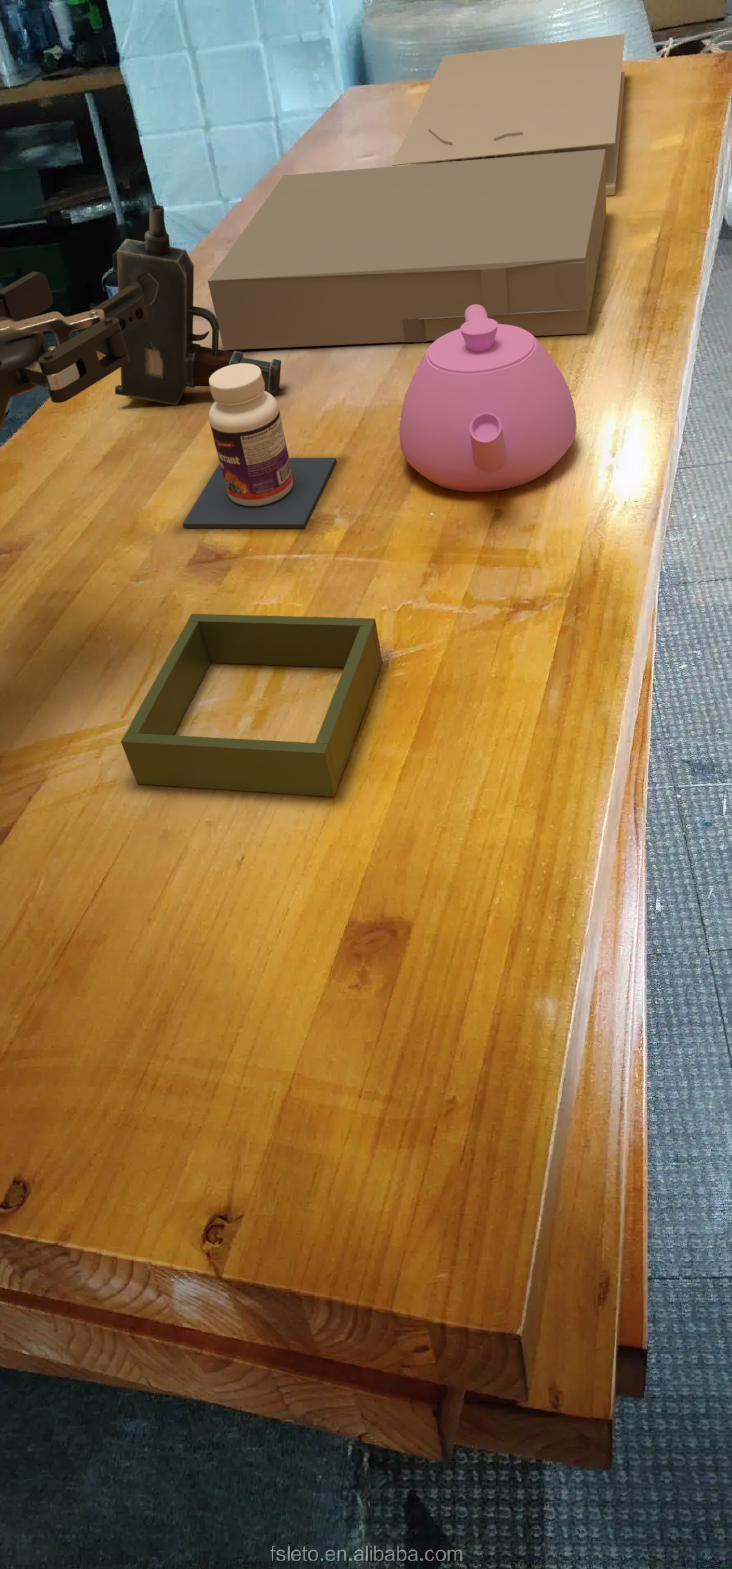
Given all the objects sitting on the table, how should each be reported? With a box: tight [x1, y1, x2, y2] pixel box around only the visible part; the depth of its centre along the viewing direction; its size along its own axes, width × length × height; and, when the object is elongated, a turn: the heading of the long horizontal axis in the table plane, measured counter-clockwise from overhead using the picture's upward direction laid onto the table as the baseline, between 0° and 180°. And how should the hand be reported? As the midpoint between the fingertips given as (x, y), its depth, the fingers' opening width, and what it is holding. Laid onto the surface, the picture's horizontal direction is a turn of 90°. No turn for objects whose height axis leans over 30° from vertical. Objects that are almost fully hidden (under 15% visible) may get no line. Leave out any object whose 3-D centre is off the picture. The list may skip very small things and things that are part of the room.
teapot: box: [399, 304, 577, 493], centre depth 91 cm, size 14×20×11 cm
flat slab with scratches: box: [391, 33, 626, 197], centre depth 149 cm, size 45×24×6 cm, turn 170°
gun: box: [112, 204, 282, 406], centre depth 105 cm, size 3×17×15 cm
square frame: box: [120, 613, 383, 798], centre depth 74 cm, size 13×13×4 cm
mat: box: [182, 457, 337, 529], centre depth 96 cm, size 10×10×1 cm
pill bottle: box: [208, 363, 293, 506], centre depth 92 cm, size 5×5×10 cm
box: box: [207, 149, 607, 351], centre depth 120 cm, size 35×29×7 cm
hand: (92, 293), depth 76 cm, fingers open, 8 cm apart
